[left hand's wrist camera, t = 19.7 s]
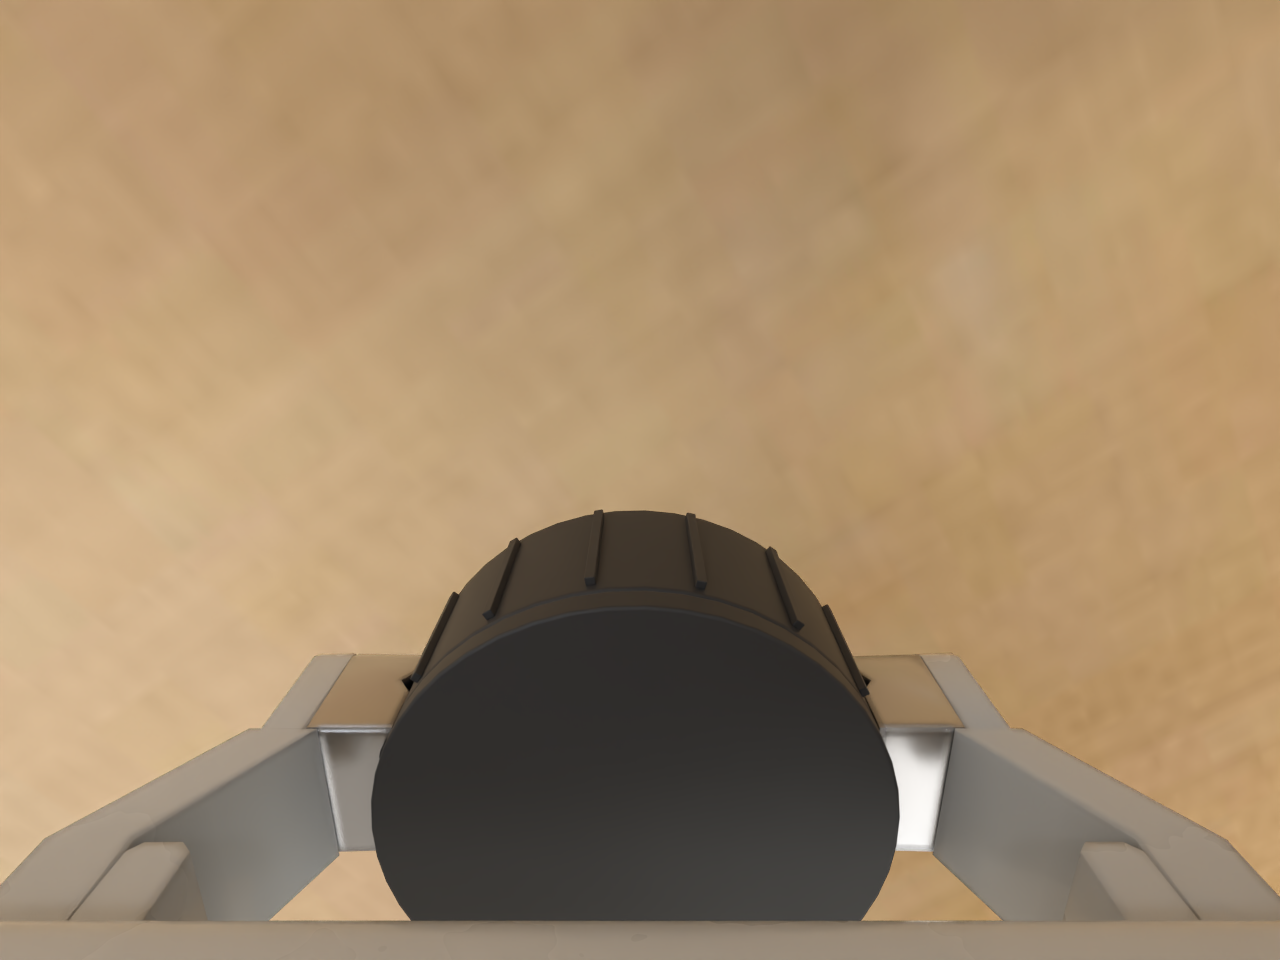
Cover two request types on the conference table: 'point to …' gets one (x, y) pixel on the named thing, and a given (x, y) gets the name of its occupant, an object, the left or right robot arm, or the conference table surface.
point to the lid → (635, 739)
